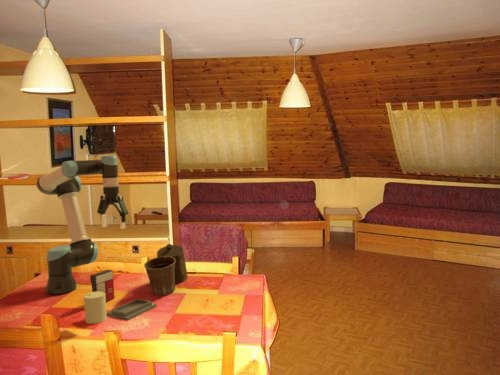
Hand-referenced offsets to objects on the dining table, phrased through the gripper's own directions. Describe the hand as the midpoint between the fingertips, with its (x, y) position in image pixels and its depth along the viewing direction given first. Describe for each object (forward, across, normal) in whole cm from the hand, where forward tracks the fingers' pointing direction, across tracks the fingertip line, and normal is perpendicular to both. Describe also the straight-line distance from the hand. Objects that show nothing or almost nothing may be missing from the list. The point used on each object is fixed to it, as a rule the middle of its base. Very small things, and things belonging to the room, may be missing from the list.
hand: (113, 227), depth 211 cm
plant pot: (+36, +16, +17) cm, 43 cm away
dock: (+37, +20, -9) cm, 43 cm away
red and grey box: (+37, -2, -7) cm, 38 cm away
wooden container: (+35, +10, +32) cm, 49 cm away
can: (+37, +13, -24) cm, 46 cm away
